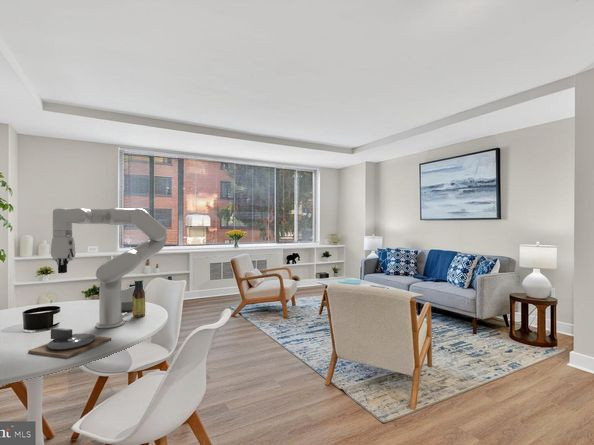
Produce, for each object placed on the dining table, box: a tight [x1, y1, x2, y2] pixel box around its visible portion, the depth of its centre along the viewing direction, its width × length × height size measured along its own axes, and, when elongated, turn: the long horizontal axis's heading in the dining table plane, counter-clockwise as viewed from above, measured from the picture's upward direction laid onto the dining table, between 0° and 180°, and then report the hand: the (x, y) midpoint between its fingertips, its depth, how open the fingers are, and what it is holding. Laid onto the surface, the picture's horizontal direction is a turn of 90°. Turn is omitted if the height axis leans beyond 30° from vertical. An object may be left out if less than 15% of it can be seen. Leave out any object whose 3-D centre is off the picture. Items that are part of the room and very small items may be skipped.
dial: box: [47, 327, 96, 351], centre depth 135 cm, size 18×16×5 cm
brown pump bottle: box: [132, 279, 146, 318], centre depth 178 cm, size 6×6×20 cm
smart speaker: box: [121, 285, 135, 312], centre depth 190 cm, size 10×9×14 cm
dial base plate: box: [27, 335, 112, 359], centre depth 135 cm, size 20×20×1 cm
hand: (62, 272), depth 155 cm, fingers closed
